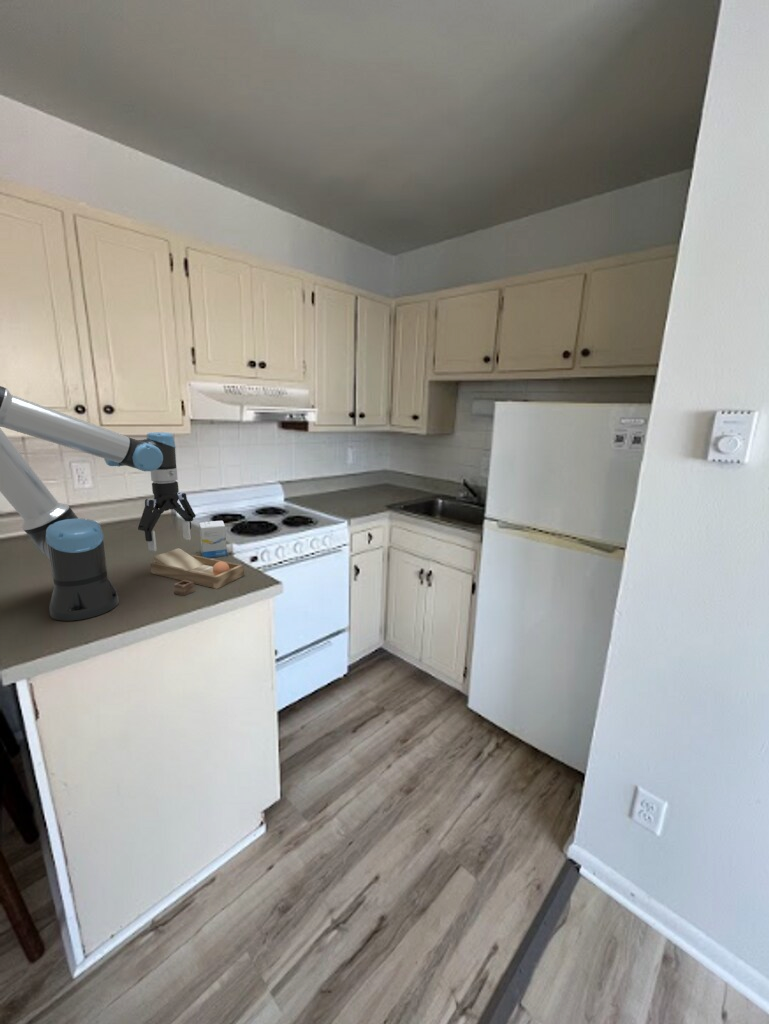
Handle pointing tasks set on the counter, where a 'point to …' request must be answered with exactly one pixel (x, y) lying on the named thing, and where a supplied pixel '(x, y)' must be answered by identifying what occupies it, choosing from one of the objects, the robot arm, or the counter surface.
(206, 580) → the tray
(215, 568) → the ball
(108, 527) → the counter surface
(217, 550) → the ink box
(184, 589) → the small brown open box
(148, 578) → the counter surface
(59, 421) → the robot arm
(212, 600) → the counter surface
